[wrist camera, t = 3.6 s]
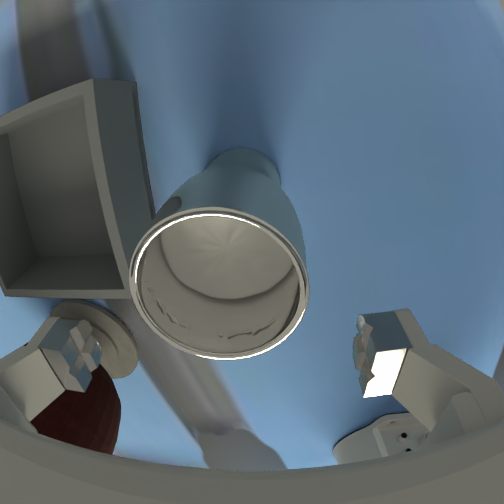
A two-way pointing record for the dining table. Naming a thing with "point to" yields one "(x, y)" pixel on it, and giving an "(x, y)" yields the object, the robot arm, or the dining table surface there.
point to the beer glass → (223, 262)
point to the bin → (73, 192)
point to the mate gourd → (92, 384)
